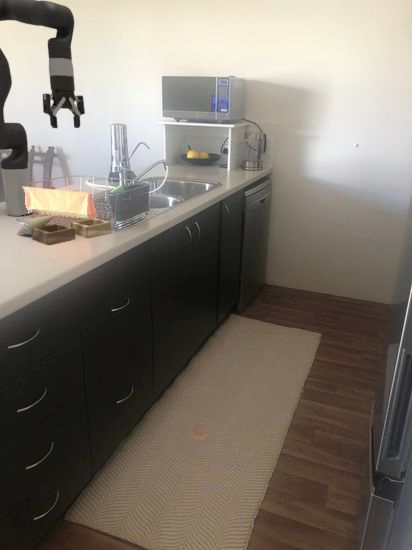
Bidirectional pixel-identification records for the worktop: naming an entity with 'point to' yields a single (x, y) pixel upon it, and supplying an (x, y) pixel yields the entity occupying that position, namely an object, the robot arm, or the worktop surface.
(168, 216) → the worktop surface
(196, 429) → the pale pink round disc
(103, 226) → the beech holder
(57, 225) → the walnut holder
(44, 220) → the ice cream cone
